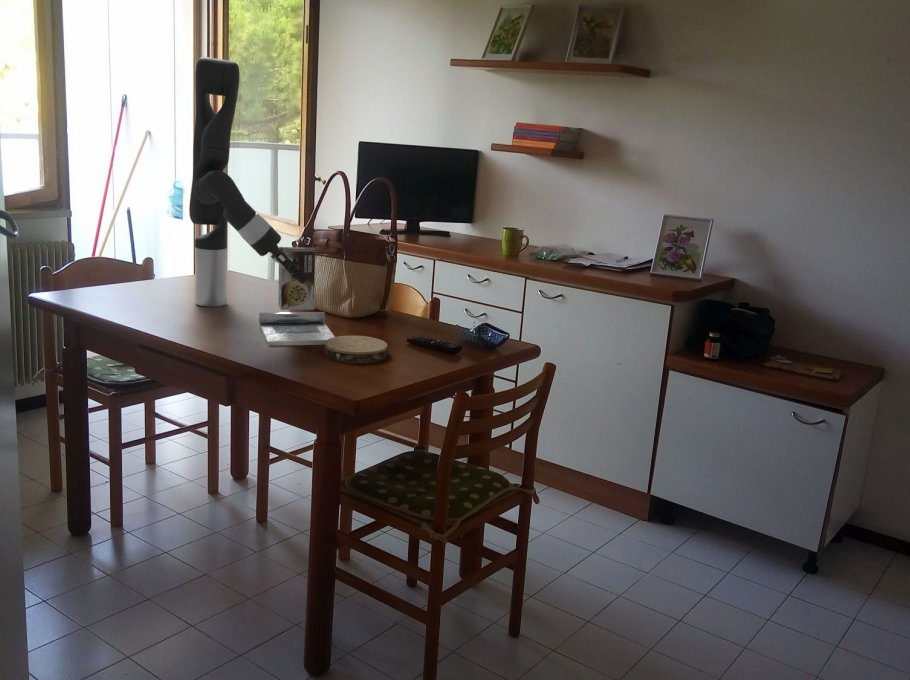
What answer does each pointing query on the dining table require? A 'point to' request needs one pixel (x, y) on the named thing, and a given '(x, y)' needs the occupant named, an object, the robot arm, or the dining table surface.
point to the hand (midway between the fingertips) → (302, 278)
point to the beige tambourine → (355, 349)
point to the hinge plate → (294, 328)
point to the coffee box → (289, 287)
